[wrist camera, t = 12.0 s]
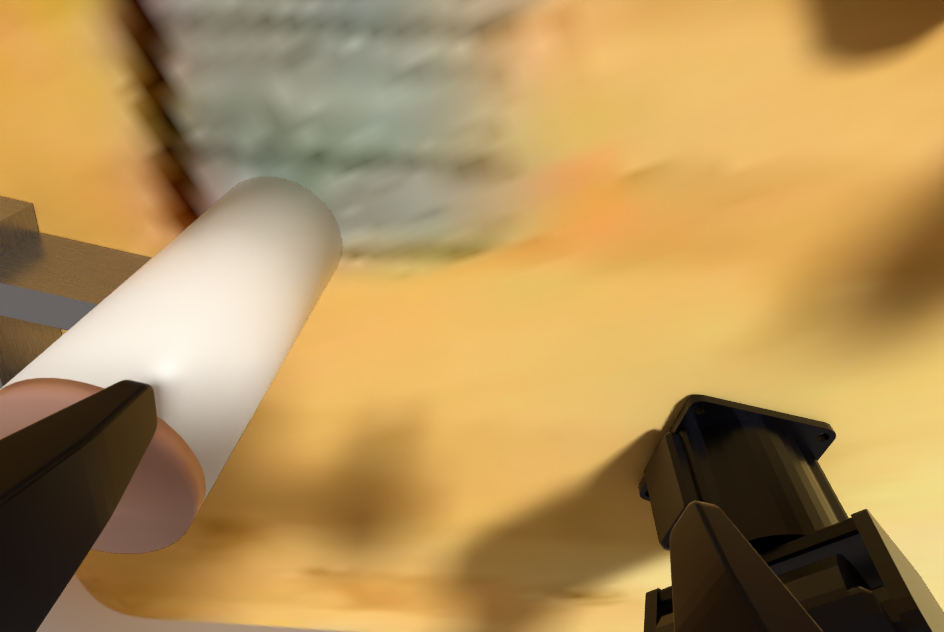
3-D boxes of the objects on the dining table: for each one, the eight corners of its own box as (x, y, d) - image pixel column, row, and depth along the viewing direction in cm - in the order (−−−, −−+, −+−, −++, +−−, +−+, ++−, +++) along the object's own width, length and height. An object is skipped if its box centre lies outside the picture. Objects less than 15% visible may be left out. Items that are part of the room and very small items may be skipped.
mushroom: (362, 219, 22) (220, 465, 12) (315, 310, 24) (163, 578, 14) (239, 151, 21) (-34, 358, 11) (203, 254, 23) (-47, 500, 13)
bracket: (149, 230, 23) (86, 280, 19) (172, 442, 29) (127, 506, 26) (-8, 194, 22) (-99, 239, 19) (51, 417, 29) (-10, 478, 26)
